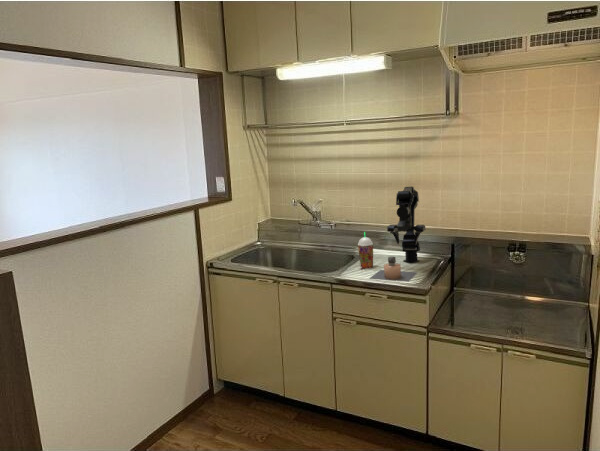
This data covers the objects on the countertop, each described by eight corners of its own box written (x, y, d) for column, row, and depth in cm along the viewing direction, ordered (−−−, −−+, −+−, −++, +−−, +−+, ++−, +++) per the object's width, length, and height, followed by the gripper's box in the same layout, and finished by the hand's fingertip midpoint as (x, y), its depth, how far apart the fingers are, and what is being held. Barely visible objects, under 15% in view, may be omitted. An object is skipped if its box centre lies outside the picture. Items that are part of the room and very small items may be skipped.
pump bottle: (387, 274, 228) (386, 260, 226) (403, 275, 224) (402, 260, 223) (382, 278, 221) (381, 264, 220) (398, 279, 217) (397, 265, 216)
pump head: (389, 264, 224) (389, 256, 223) (396, 264, 222) (396, 256, 221) (386, 267, 219) (385, 259, 218) (393, 267, 217) (392, 259, 217)
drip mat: (369, 280, 223) (368, 278, 223) (380, 271, 237) (380, 269, 237) (408, 283, 213) (408, 281, 213) (418, 273, 227) (418, 272, 226)
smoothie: (357, 270, 243) (355, 233, 240) (361, 266, 251) (358, 230, 247) (373, 270, 240) (370, 233, 237) (376, 266, 248) (373, 230, 245)
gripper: (383, 217, 231) (384, 247, 234) (419, 217, 222) (420, 248, 225) (389, 214, 241) (391, 242, 243) (425, 213, 232) (426, 243, 234)
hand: (406, 244), depth 236 cm, fingers open, 9 cm apart
